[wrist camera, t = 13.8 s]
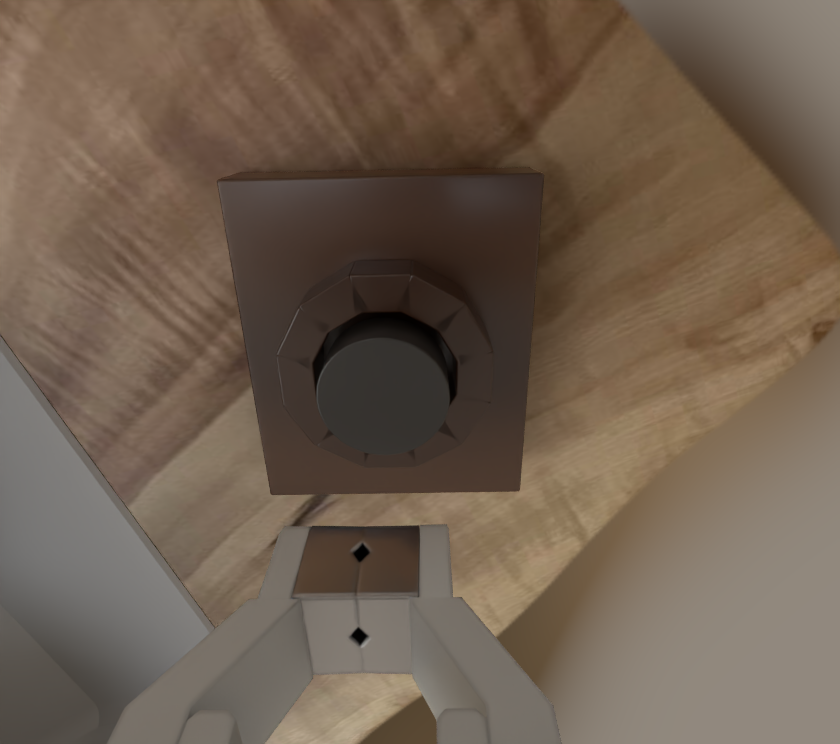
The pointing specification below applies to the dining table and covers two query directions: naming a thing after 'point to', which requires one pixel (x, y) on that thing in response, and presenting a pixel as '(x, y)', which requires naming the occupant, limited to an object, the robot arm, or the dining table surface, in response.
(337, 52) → the dining table surface
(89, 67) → the dining table surface
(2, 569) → the grey storage bin
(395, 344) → the button
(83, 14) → the dining table surface
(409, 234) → the button block
